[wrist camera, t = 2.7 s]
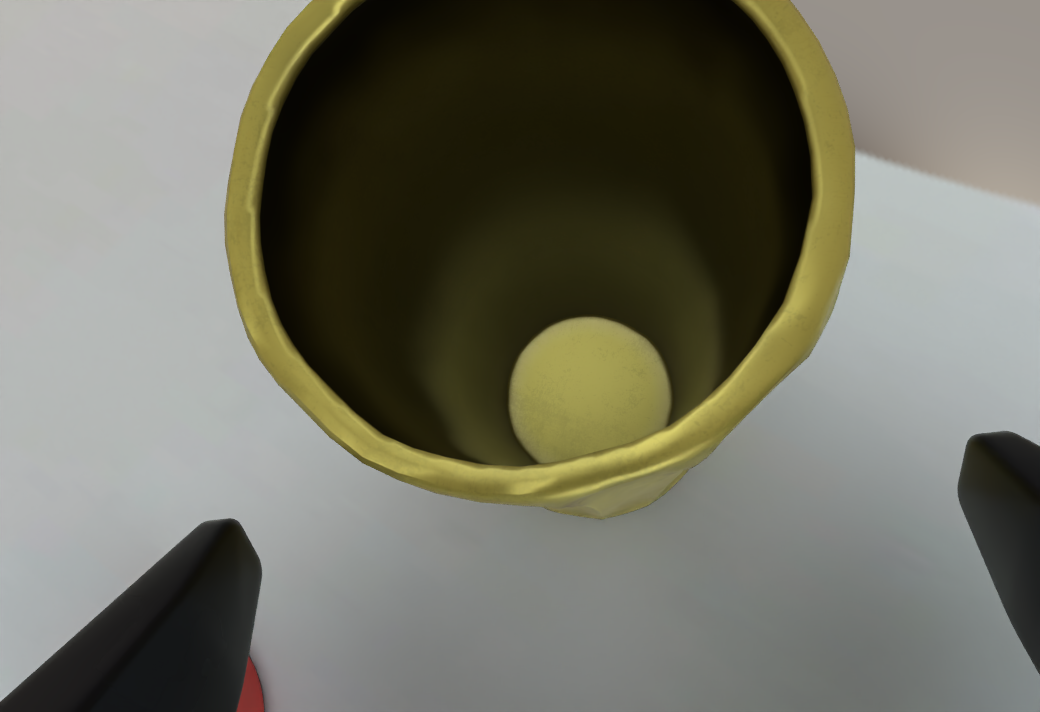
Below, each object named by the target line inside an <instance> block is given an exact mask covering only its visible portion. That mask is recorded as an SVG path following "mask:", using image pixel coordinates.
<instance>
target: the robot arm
mask: <svg viewBox="0 0 1040 712" xmlns="http://www.w3.org/2000/svg"><path fill="white" fill-rule="evenodd" d="M958 498H959V502H960V505H961V508H962V510H963V512H964V515H965V517H966V519H967V522H968V524H969V526H970V529H971V531H972V533H973V536H974V538H975V541H976V543H977V545H978V548H979V550H980V552H981V555H982V557H983V559H984V562H985V564H986V566H987V569H988V571H989V573H990V576H991V578H992V580H993V583H994V585H995V587H996V590H997V592H998V595H999V597H1000V599H1001V602H1002V604H1003V606H1004V608H1005V610H1006V613H1007V615H1008V617H1009V619H1010V621H1011V624H1012V625H1013V627H1014V629H1015V631H1016V633H1017V635H1018V637H1019V639H1020V640H1021V642H1022V644H1023V646H1024V648H1025V650H1026V651H1027V653H1028V655H1029V657H1030V658H1031V660H1032V662H1033V664H1034V665H1035V667H1036V669H1037V671H1038V673H1039V674H1040V446H1038V445H1037V444H1035V443H1033V442H1031V441H1029V440H1027V439H1025V438H1023V437H1021V436H1020V435H1018V434H1015V433H1013V432H1009V431H1000V432H991V433H982V434H976V435H973V436H972V437H970V439H969V440H968V442H967V445H966V449H965V453H964V458H963V463H962V467H961V472H960V477H959V481H958ZM261 579H262V567H261V562H260V559H259V557H258V555H257V553H256V551H255V550H254V548H253V546H252V544H251V542H250V540H249V539H248V537H247V535H246V533H245V531H244V529H243V527H242V526H241V524H240V523H239V522H238V521H237V520H235V519H231V518H229V519H220V520H211V521H206V522H203V523H201V524H200V525H199V526H198V527H196V528H195V529H194V530H193V531H192V532H191V533H190V534H189V535H187V536H186V537H185V538H184V539H183V540H182V541H181V542H180V543H178V544H177V545H176V546H175V547H174V548H173V549H172V550H171V551H169V552H168V553H167V554H166V555H165V556H164V557H163V558H162V559H160V560H159V561H158V562H157V563H156V564H155V565H154V566H153V567H151V568H150V569H149V570H148V571H147V572H146V573H145V574H144V575H142V576H141V577H140V578H139V579H138V580H137V581H136V582H135V583H133V584H132V585H131V586H130V587H129V588H128V589H127V590H126V591H124V592H123V593H122V594H121V595H120V596H119V597H118V598H117V599H115V600H114V601H113V602H112V603H111V604H110V605H109V606H108V607H106V608H105V609H104V610H103V611H102V612H101V613H100V614H99V615H98V616H96V617H95V618H94V619H93V620H92V621H91V622H90V623H89V624H87V625H86V626H85V627H84V628H83V629H82V630H81V631H80V632H78V633H77V634H76V635H75V636H74V637H73V638H72V639H71V640H69V641H68V642H67V643H66V644H65V645H64V646H63V647H62V648H60V649H59V650H58V651H57V652H56V653H55V654H54V655H53V656H51V657H50V658H49V659H48V660H47V661H46V662H45V663H44V664H42V665H41V666H40V667H39V668H38V669H37V670H36V671H35V672H33V673H32V674H31V675H30V676H29V677H28V678H27V679H26V680H24V681H23V682H22V683H21V684H20V685H19V686H18V687H17V688H15V689H14V690H13V691H12V692H11V693H10V694H9V695H8V696H6V697H5V698H4V699H3V700H2V701H1V702H0V712H237V708H238V704H239V700H240V696H241V693H242V688H243V683H244V678H245V673H246V668H247V662H248V656H249V650H250V644H251V639H252V633H253V627H254V621H255V615H256V609H257V603H258V597H259V591H260V585H261Z"/></svg>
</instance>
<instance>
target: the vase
mask: <svg viewBox="0 0 1040 712" xmlns="http://www.w3.org/2000/svg"><path fill="white" fill-rule="evenodd" d="M854 194H855V144H854V139H853V134H852V129H851V124H850V120H849V114H848V110H847V106H846V103H845V100H844V98H843V95H842V92H841V89H840V87H839V83H838V80H837V78H836V75H835V73H834V71H833V69H832V67H831V65H830V63H829V61H828V59H827V57H826V55H825V53H824V51H823V49H822V47H821V44H820V42H819V41H818V39H817V38H816V36H815V35H814V33H813V32H812V30H811V29H810V27H809V26H808V24H807V23H806V21H805V20H804V18H803V17H802V15H801V14H800V12H799V11H798V10H797V8H795V6H794V5H793V3H792V2H791V1H790V0H312V1H311V2H310V3H309V4H308V5H307V6H306V7H305V8H304V9H303V11H302V12H301V13H300V14H299V15H298V16H297V17H296V18H295V19H294V20H293V21H292V22H291V24H290V25H289V26H288V27H287V28H286V29H285V31H284V33H283V34H282V36H281V37H280V39H279V40H278V42H277V43H276V45H275V46H274V48H273V49H272V51H271V52H270V54H269V56H268V58H267V59H266V61H265V63H264V65H263V67H262V69H261V71H260V73H259V74H258V76H257V78H256V80H255V82H254V84H253V86H252V88H251V91H250V93H249V96H248V99H247V101H246V104H245V107H244V109H243V112H242V115H241V118H240V123H239V128H238V133H237V138H236V143H235V148H234V153H233V159H232V164H231V169H230V175H229V180H228V187H227V195H226V204H225V213H224V223H225V247H226V252H227V258H228V264H229V270H230V275H231V280H232V284H233V289H234V293H235V298H236V302H237V307H238V310H239V313H240V316H241V319H242V322H243V325H244V328H245V331H246V334H247V337H248V339H249V341H250V343H251V344H252V346H253V348H254V350H255V352H256V354H257V356H258V358H259V360H260V361H261V362H262V364H263V365H264V366H265V368H266V369H267V370H268V372H269V373H270V374H271V376H272V377H273V378H274V380H275V381H276V382H277V384H278V385H279V386H280V387H281V388H282V389H283V390H284V391H285V392H286V393H287V394H288V395H289V396H290V397H291V398H292V399H293V400H294V401H295V402H296V403H297V404H298V405H299V406H300V407H301V408H302V409H303V411H304V412H305V413H306V414H307V415H308V416H309V417H310V418H311V419H312V420H313V421H314V422H315V423H316V424H317V425H318V426H319V427H320V428H321V429H322V430H323V431H324V432H325V433H326V434H327V435H328V436H329V437H330V438H331V439H333V440H334V441H335V442H336V443H338V444H339V445H340V446H342V447H343V448H344V449H345V450H347V451H348V452H349V453H350V454H352V455H353V456H354V457H356V458H357V459H358V460H359V461H361V462H362V463H364V464H366V465H368V466H370V467H372V468H374V469H376V470H378V471H380V472H383V473H385V474H387V475H389V476H391V477H393V478H395V479H397V480H400V481H403V482H405V483H408V484H411V485H414V486H417V487H420V488H422V489H425V490H428V491H431V492H434V493H437V494H442V495H447V496H452V497H457V498H461V499H466V500H471V501H476V502H482V503H494V504H506V505H518V506H536V507H544V508H546V509H547V510H551V511H554V512H558V513H562V514H569V515H575V516H581V517H588V518H597V519H605V518H609V517H614V516H618V515H622V514H625V513H628V512H632V511H635V510H638V509H640V508H643V507H645V506H648V505H649V504H651V503H653V502H654V501H656V500H657V499H659V498H660V497H661V496H663V495H664V494H665V493H666V492H667V491H669V490H670V489H671V488H672V487H673V486H674V485H675V484H676V483H677V482H678V481H679V480H680V479H681V478H682V477H683V476H684V474H685V473H686V472H687V471H688V470H689V469H690V468H693V467H694V466H696V465H698V464H699V463H700V462H702V461H703V460H704V459H706V458H707V457H708V456H709V455H710V454H711V453H712V452H713V451H714V450H715V449H716V447H717V446H718V445H719V444H720V443H721V441H722V440H723V439H724V438H725V437H726V436H727V435H728V434H729V433H730V432H731V431H732V430H733V429H734V428H735V427H736V426H737V425H738V424H739V423H740V422H741V421H742V420H743V419H744V418H745V417H746V416H747V415H748V414H749V413H750V412H751V411H752V410H753V409H754V408H755V407H756V406H757V405H758V404H759V403H760V402H761V401H762V400H763V399H764V398H765V397H766V396H767V395H768V394H769V393H770V392H771V391H772V390H773V389H774V388H775V387H776V386H777V385H778V384H779V383H780V382H781V381H782V380H784V379H785V378H786V377H787V376H788V375H789V374H790V373H791V372H792V371H793V370H795V369H796V368H797V367H798V366H799V365H800V364H801V363H802V362H803V361H804V360H806V359H807V358H808V357H809V355H810V354H811V352H812V350H813V348H814V347H815V345H816V343H817V341H818V340H819V338H820V336H821V334H822V332H823V330H824V328H825V326H826V324H827V322H828V320H829V318H830V316H831V313H832V311H833V309H834V306H835V303H836V300H837V297H838V294H839V289H840V286H841V283H842V279H843V276H844V273H845V270H846V266H847V263H848V260H849V257H850V245H851V232H852V220H853V208H854Z"/></svg>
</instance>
